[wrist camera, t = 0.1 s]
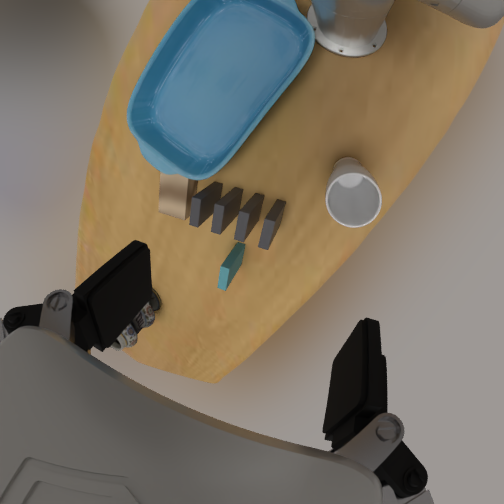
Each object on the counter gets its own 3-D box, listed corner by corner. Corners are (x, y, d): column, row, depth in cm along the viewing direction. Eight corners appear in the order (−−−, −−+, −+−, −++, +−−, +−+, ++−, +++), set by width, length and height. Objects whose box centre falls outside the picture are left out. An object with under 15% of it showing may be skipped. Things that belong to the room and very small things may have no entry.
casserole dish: (214, 192, 50) (197, 206, 44) (134, 129, 48) (111, 134, 42) (343, 37, 30) (344, 24, 24) (235, -21, 27) (219, -37, 22)
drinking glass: (336, 196, 44) (335, 235, 31) (322, 159, 41) (315, 182, 29) (373, 185, 41) (388, 220, 28) (360, 146, 38) (372, 164, 26)
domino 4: (271, 223, 50) (258, 246, 42) (277, 199, 47) (264, 218, 40) (279, 226, 50) (267, 250, 42) (286, 201, 47) (275, 221, 39)
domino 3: (250, 217, 50) (234, 239, 43) (255, 192, 48) (239, 210, 40) (258, 219, 50) (243, 242, 43) (264, 195, 47) (249, 213, 40)
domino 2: (230, 211, 51) (211, 231, 44) (234, 186, 48) (214, 203, 41) (238, 213, 51) (220, 234, 43) (243, 189, 48) (224, 206, 41)
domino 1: (211, 205, 52) (189, 224, 44) (214, 181, 49) (191, 197, 41) (219, 207, 51) (197, 227, 44) (222, 183, 49) (200, 199, 41)
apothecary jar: (133, 270, 68) (91, 312, 53) (169, 296, 68) (131, 343, 54) (127, 296, 75) (91, 335, 60) (159, 319, 75) (126, 362, 60)
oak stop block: (172, 159, 49) (161, 163, 45) (199, 164, 48) (189, 169, 45) (169, 204, 54) (158, 212, 51) (194, 212, 53) (184, 220, 50)
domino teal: (234, 262, 57) (217, 287, 49) (237, 242, 54) (220, 266, 46) (241, 264, 56) (225, 290, 49) (245, 244, 54) (229, 269, 46)
